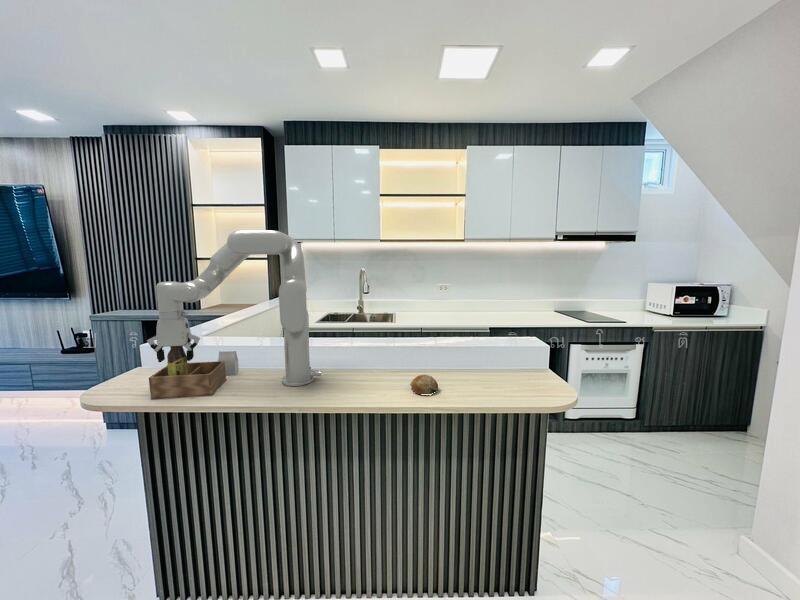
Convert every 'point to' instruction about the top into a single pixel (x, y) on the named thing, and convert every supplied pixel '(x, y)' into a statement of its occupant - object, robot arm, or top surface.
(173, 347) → the sauce bottle
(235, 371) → the printed food box
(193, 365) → the crate
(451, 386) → the top surface
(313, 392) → the top surface
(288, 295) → the robot arm
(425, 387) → the bread roll
